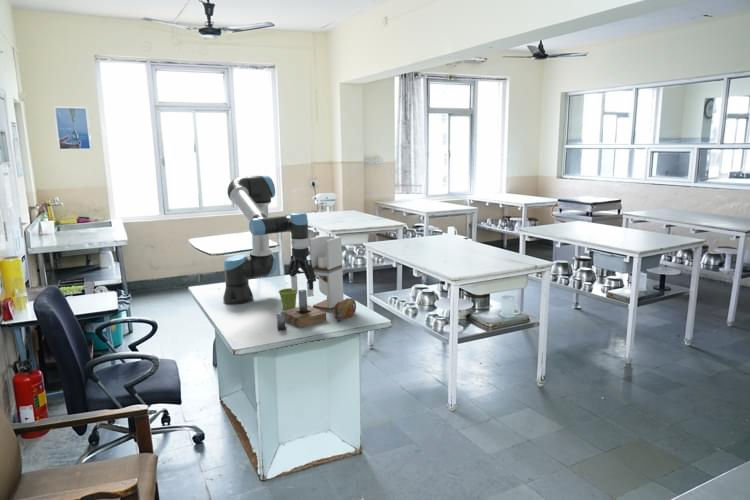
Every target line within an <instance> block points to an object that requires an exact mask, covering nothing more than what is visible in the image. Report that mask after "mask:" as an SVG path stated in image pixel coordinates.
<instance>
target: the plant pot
mask: <svg viewBox="0 0 750 500" xmlns="http://www.w3.org/2000/svg"><path fill="white" fill-rule="evenodd" d="M298 291H299V290H293V291H292V287H291V288H290V287H289V288H283V289H280V290H279V291H278V293H279V295H280V300H281V304H282V308H283V309H284V310H289V309H293V308H296V306H297V305H296V304H297V294H298V293H299V292H298Z"/></svg>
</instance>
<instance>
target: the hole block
mask: <svg viewBox="0 0 750 500" xmlns="http://www.w3.org/2000/svg"><path fill="white" fill-rule="evenodd" d="M307 311H308V313H306V314H300V310H299V306H297V307H295V308H291V309H284V310H282V311H281V313H285V323H288V324H291V325H293V326H295V327H298V328H299V329H301V328H305V327H309V326H313V325H316V324H320V323H324V322H327V312H325V311H321V310H319V309H316V308H314V307H313V306H311V305H308V304H307Z"/></svg>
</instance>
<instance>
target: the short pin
mask: <svg viewBox="0 0 750 500" xmlns="http://www.w3.org/2000/svg"><path fill="white" fill-rule="evenodd" d="M276 329H277V331H278V332H284V331H286V329H287V327H286V321H285V313H282V312H279V313H276Z"/></svg>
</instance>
